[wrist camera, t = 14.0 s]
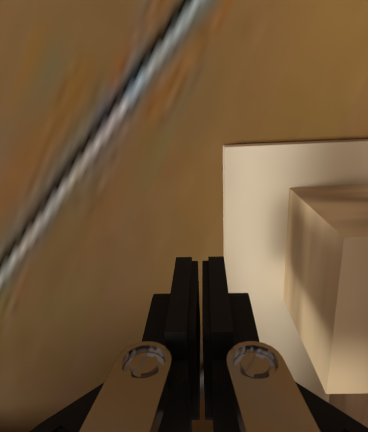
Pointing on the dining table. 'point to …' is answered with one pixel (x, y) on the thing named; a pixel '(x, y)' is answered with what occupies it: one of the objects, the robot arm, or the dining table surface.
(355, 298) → the oak block
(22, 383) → the dining table surface
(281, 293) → the board
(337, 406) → the walnut ring block
